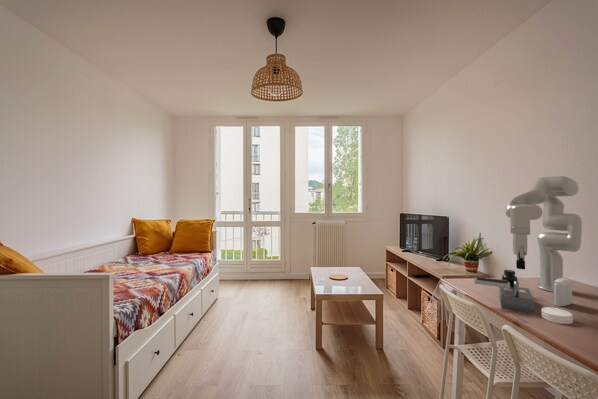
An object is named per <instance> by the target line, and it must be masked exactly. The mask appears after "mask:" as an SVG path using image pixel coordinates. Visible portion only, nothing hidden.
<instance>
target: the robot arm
mask: <svg viewBox="0 0 598 399" xmlns="http://www.w3.org/2000/svg"><path fill="white" fill-rule="evenodd" d="M578 191H579V184H578V183H577V181H576V180H574V179H572V178H571V177H568V176H565V175H557V176H556V175H553V176H541V177H539V178H537V179H535V180H534V182H533V183H532V184H531V187H530V188H529V189H528V191H526V192H524V193H522V194H519V195H517V196H515V197H513V198H512V199H511V200H510V202H509V203H508V204H507V206H506V209H505V215H506V216H507V217H508V219H510V221H509V222H510V234H511V235H512V253H513V255H515V256H516V263H515V264H516V269H518V270H525V269H526V261H525V258H526V257H525V256H527V255H528V235H529V236H530V235H531V221H535V220H540V219H541V217H542V226H543V228H544V229H546V230H550V231H544V232H541V233H539V234H538V236H537V244H538V249H539V250H538V251H539V278H540V279H539V281H540V283H537V284H536V288H538V289H539V290H540V289H541V290H542V291H543V290H544V291H548V292H551V293H553V283H554V281H556V280H557V279H560V278H564V258H563V256H562V255H561V254H560V252H559V251H561V252H562V251H564V252H570V253H571V252H573V253H575V252H578V251H580V249H581V244H582V234H583V233H582V232H583V221H582V218H581V216H580V215H579V214H576V213H565V205H564V203H563V201H561V199H560V198H558V197H573V196H576V195H577V194H578V193H579V192H578ZM540 204H543V209H542V208H541V207H540ZM555 231H556V232H555ZM557 231H561V232H557ZM562 231H563V232H562ZM565 232H568V233H565Z"/></svg>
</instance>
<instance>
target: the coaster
mask: <svg viewBox="0 0 598 399" xmlns="http://www.w3.org/2000/svg"><path fill="white" fill-rule="evenodd" d="M540 313H541V315H540V316H541V318H542V319H544V320H545V321H549V322H551V323H556V324H560V325H572V324H573V323H574V315H573V313H572V312H570V311H567V310H565V309H562V308H556V307H548V306H546V307H545V306H544V307H542V308H541V312H540Z"/></svg>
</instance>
